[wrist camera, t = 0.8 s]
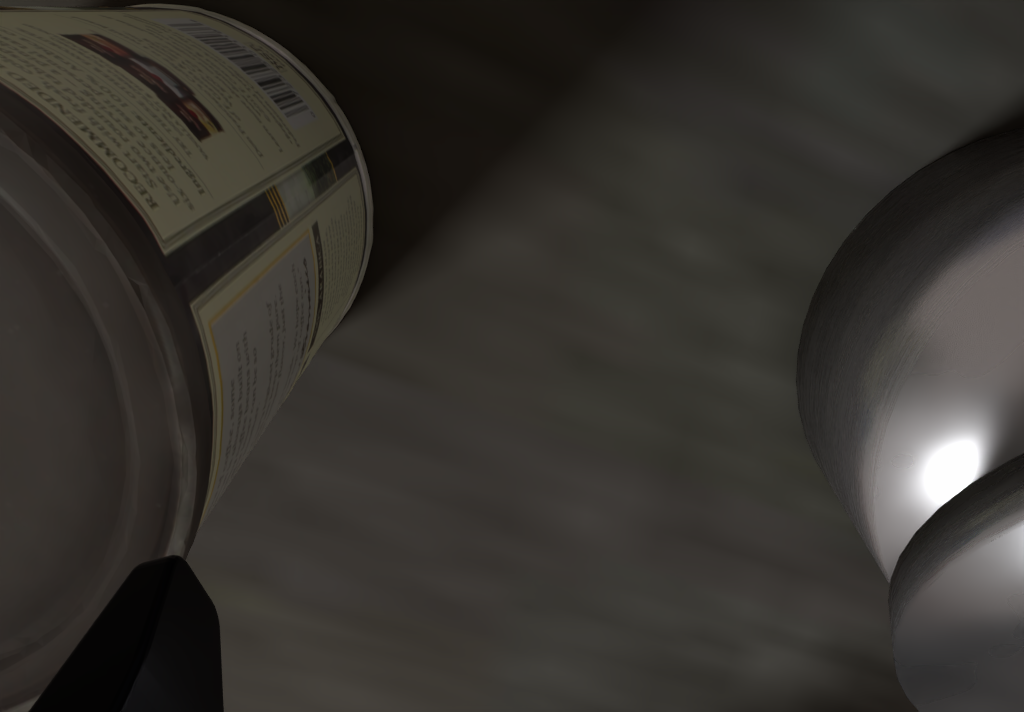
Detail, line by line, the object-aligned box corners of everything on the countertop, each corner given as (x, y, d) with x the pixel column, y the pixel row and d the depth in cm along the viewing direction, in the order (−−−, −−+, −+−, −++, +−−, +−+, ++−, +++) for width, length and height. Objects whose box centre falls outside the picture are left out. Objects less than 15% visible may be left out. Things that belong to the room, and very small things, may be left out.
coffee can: (-15, 345, 27) (-557, 665, 14) (0, -41, 24) (-704, -110, 10) (344, 424, 27) (154, 808, 14) (411, 57, 24) (241, 110, 11)
